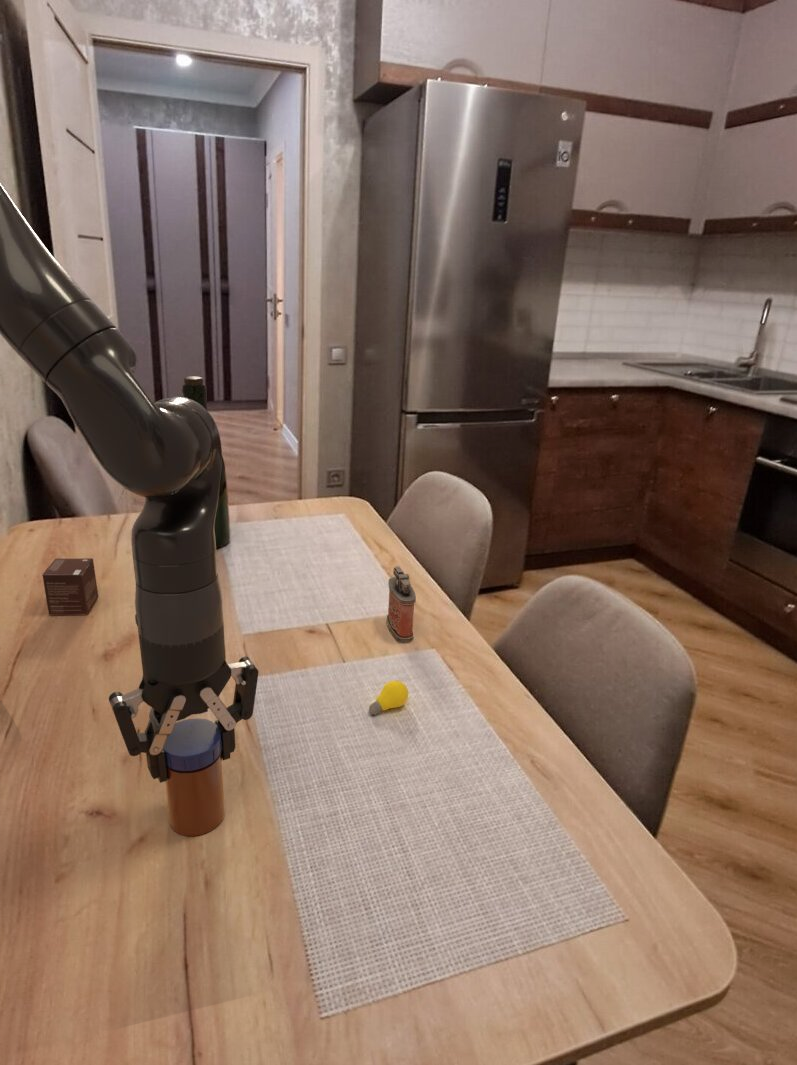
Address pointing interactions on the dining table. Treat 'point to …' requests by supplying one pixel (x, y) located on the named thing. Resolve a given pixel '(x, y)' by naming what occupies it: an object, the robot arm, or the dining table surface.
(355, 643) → the dining table surface
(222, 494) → the dark green wine bottle
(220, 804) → the jam jar
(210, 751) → the jam lid
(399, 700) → the light bulb
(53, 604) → the box
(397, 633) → the lighter
